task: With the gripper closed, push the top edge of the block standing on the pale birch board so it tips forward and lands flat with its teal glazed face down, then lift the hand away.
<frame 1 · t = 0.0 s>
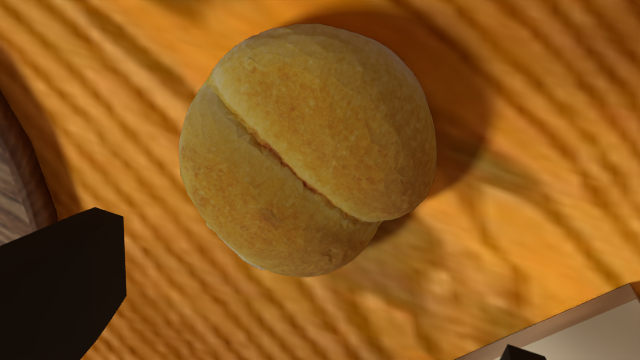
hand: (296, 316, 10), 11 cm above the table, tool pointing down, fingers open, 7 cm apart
bread roll: (313, 145, 21), on the table
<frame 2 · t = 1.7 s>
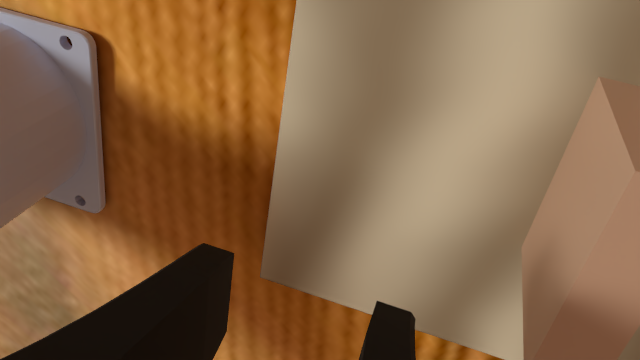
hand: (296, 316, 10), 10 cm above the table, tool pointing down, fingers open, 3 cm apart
board: (548, 153, 18), on the table
block: (583, 177, 17), point 1 cm above the table, touching board
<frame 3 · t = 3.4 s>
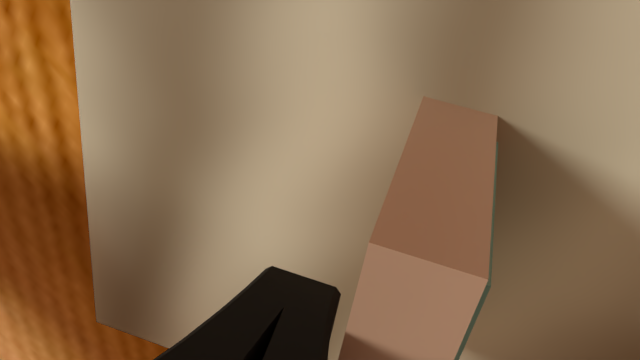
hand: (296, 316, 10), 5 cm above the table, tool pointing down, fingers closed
board: (391, 186, 14), on the table
block: (424, 218, 13), point 1 cm above the table, touching board, gripper
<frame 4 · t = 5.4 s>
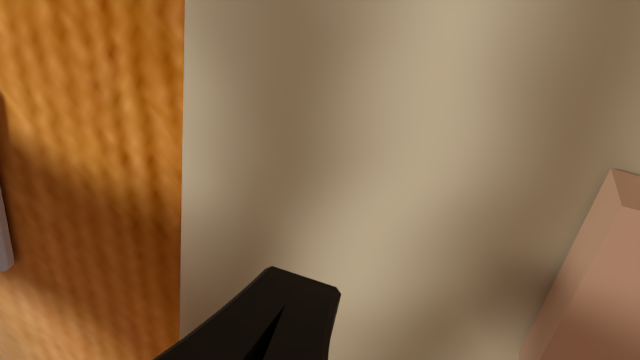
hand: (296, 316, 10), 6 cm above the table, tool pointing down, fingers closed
board: (485, 223, 15), on the table
block: (561, 292, 13), point 2 cm above the table, tilted 90°, touching board
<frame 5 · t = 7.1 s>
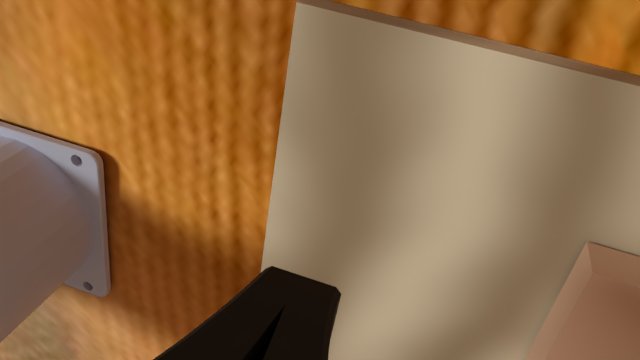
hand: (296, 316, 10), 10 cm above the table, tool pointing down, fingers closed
board: (496, 271, 20), on the table
block: (551, 326, 18), point 2 cm above the table, tilted 90°, touching board
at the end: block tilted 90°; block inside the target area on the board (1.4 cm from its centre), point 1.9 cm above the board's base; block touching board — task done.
